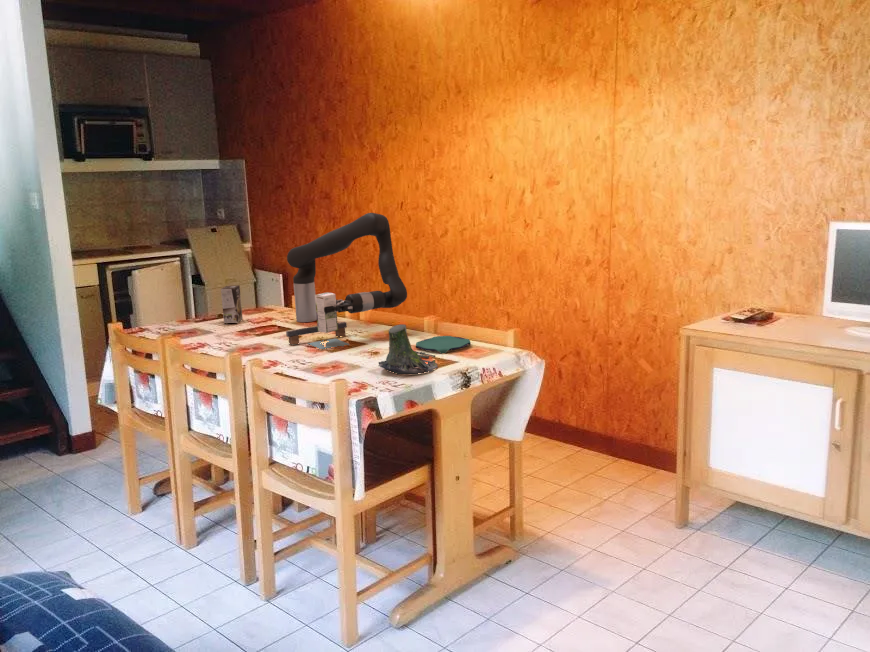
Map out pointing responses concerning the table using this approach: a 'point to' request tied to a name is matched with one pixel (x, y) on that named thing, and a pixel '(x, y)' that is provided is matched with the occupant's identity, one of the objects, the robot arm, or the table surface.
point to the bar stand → (296, 338)
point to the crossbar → (310, 330)
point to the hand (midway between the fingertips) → (320, 308)
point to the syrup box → (326, 320)
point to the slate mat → (329, 343)
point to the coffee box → (231, 304)
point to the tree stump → (404, 354)
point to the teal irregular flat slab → (441, 344)
